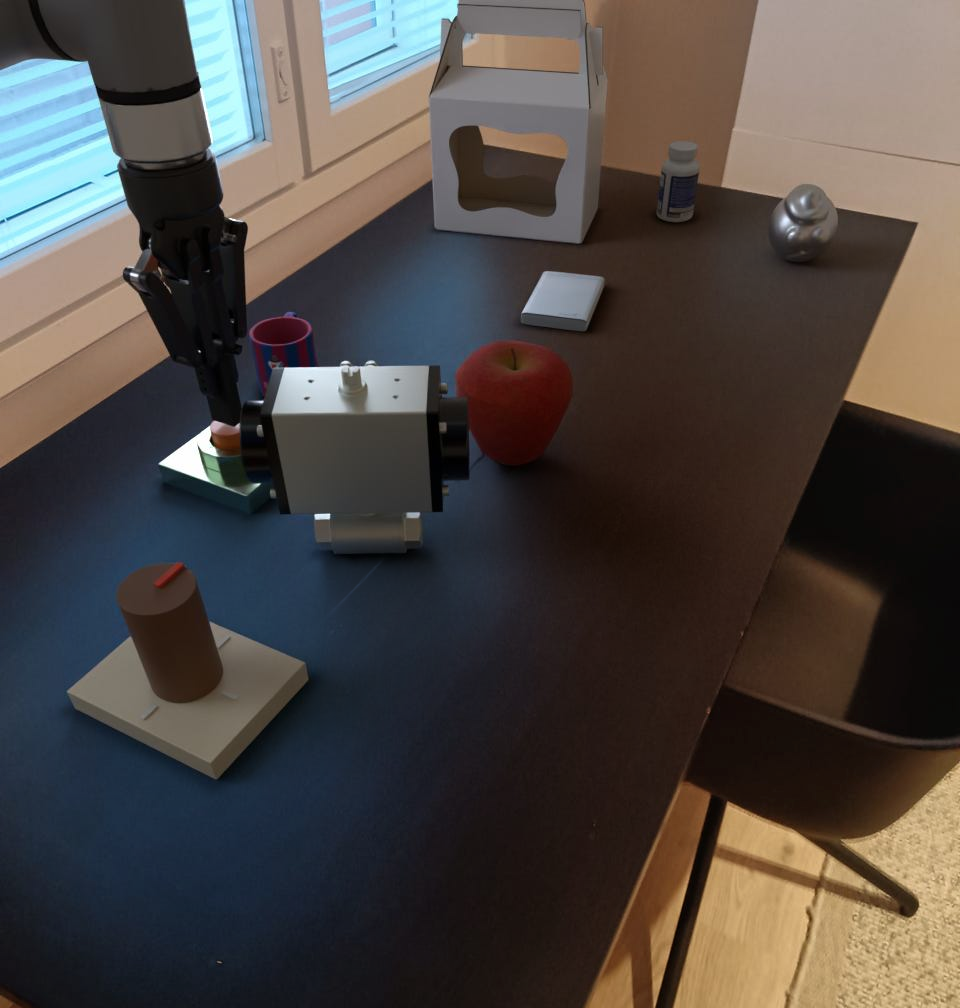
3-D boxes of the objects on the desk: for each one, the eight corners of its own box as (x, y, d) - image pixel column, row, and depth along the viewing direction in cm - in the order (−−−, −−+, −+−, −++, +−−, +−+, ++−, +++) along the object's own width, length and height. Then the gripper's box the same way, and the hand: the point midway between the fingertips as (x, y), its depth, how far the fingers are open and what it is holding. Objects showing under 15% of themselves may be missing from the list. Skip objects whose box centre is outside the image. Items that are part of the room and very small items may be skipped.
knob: (191, 712, 68) (158, 621, 61) (135, 687, 69) (97, 596, 63) (237, 665, 71) (211, 573, 64) (183, 642, 73) (152, 550, 66)
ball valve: (470, 512, 87) (467, 336, 75) (471, 571, 81) (467, 391, 69) (280, 515, 87) (244, 340, 75) (267, 575, 81) (225, 395, 69)
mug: (252, 401, 102) (240, 343, 97) (279, 356, 109) (269, 301, 104) (311, 405, 101) (302, 347, 96) (334, 360, 108) (326, 304, 103)
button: (205, 445, 89) (201, 429, 88) (229, 427, 92) (226, 411, 90) (234, 455, 88) (231, 439, 87) (258, 436, 90) (255, 421, 89)
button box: (163, 482, 91) (152, 447, 89) (229, 433, 97) (221, 399, 95) (251, 514, 88) (242, 479, 85) (313, 461, 94) (308, 427, 91)
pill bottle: (699, 215, 137) (710, 144, 131) (678, 226, 135) (688, 154, 128) (669, 206, 140) (678, 136, 133) (648, 216, 137) (656, 145, 130)
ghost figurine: (747, 262, 126) (762, 185, 119) (781, 240, 131) (798, 165, 124) (808, 281, 122) (828, 202, 114) (841, 258, 127) (861, 180, 119)
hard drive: (587, 319, 111) (605, 275, 120) (520, 312, 113) (543, 269, 121) (586, 332, 112) (604, 288, 121) (520, 324, 114) (542, 281, 122)
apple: (466, 495, 89) (463, 382, 81) (451, 434, 97) (447, 325, 88) (578, 483, 90) (587, 371, 82) (555, 424, 98) (560, 315, 89)
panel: (74, 708, 71) (65, 689, 69) (173, 620, 77) (167, 601, 76) (216, 780, 66) (209, 761, 64) (308, 679, 73) (305, 660, 71)
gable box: (432, 230, 135) (422, 0, 115) (457, 197, 144) (451, -22, 124) (583, 245, 130) (599, 9, 111) (599, 210, 139) (617, -14, 119)
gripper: (185, 122, 77) (241, 379, 94) (66, 172, 69) (150, 443, 86) (256, 135, 74) (301, 397, 91) (141, 188, 66) (213, 465, 83)
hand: (228, 419), depth 88 cm, fingers closed
